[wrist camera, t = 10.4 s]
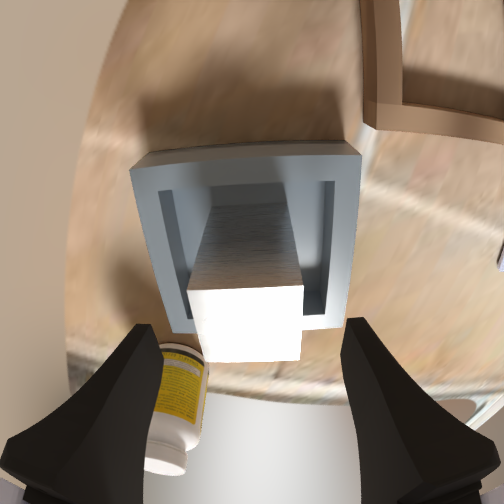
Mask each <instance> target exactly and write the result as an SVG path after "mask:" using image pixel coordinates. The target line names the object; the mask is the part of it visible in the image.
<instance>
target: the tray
mask: <svg viewBox="0 0 504 504" xmlns="http://www.w3.org/2000/svg"><path fill="white" fill-rule="evenodd" d="M361 163H362V155H361V154H360V153H359V152H358V151H357V150H356V149H354V148H353V147H352V146H351V145H350V144H349V143H348V142H346V141H345V140H293V141H266V142H248V143H233V144H220V145H209V146H198V147H189V148H180V149H172V150H164V151H156V152H149V153H148V154H147V155H145V156H144V157H143V158H142V159H141V160H140V161H139V162H137V163H136V164H135V165H134V166H133V167H132V168H131V169H129V171H130V176H131V181H132V186H133V190H134V195H135V199H136V204H137V208H138V212H139V216H140V221H141V225H142V229H143V233H144V237H145V240H146V244H147V248H148V252H149V256H150V259H151V263H152V267H153V270H154V274H155V277H156V281H157V284H158V287H159V291H160V294H161V297H162V301H163V304H164V307H165V310H166V313H167V317H168V320H169V323H170V326H171V329H172V332H173V333H197V330H196V326H195V322H194V318H193V314H192V310H191V306H190V302H189V298H188V294H187V287H188V284H189V280H190V277H191V273H192V270H193V266H194V263H195V259H196V256H197V252H198V249H199V246H200V242H201V239H202V236H203V232H204V229H205V226H206V223H207V219H208V216H209V213H210V210H211V207H212V206H224V205H241V204H259V203H281V202H287V203H288V208H289V213H290V218H291V223H292V228H293V233H294V238H295V244H296V249H297V254H298V259H299V265H300V270H301V276H302V282H303V304H302V324H301V330H312V329H326V328H339V327H343V321H344V316H345V310H346V303H347V297H348V290H349V284H350V277H351V269H352V262H353V254H354V245H355V236H356V227H357V217H358V206H359V194H360V180H361Z"/></svg>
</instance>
